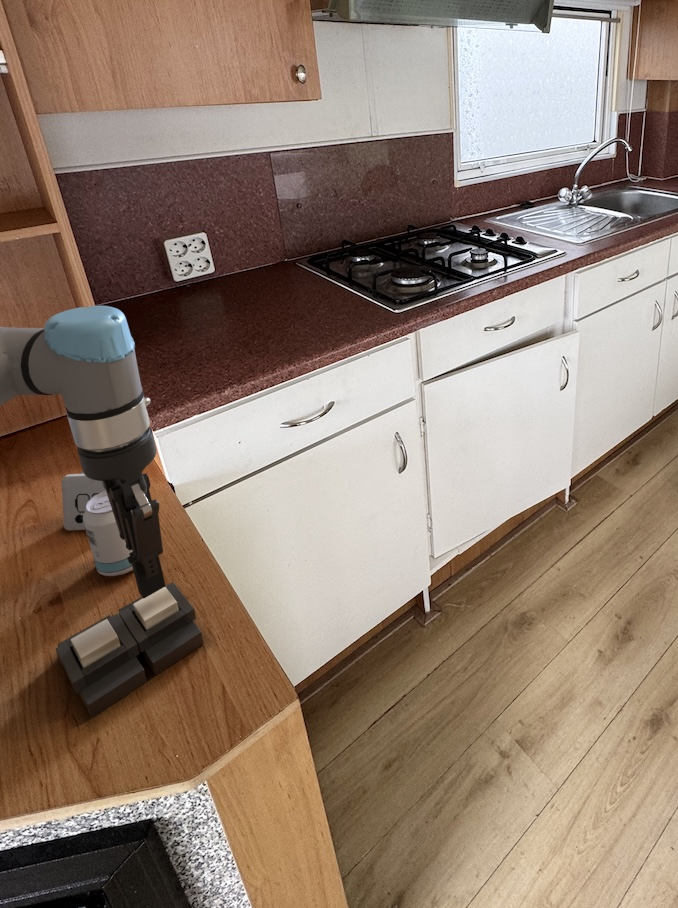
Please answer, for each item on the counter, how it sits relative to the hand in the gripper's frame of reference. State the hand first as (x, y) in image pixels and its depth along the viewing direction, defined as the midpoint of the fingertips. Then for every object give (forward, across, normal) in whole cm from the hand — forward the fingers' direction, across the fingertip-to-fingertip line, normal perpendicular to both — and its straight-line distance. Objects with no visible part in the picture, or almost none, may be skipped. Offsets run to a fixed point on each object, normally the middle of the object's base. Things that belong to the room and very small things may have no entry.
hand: (152, 589), depth 76 cm
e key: (+4, 0, 0) cm, 4 cm away
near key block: (+8, 0, +7) cm, 10 cm away
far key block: (+8, 0, 0) cm, 8 cm away
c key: (+4, 0, +7) cm, 8 cm away
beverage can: (+8, +17, -1) cm, 19 cm away
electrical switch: (+8, +31, -2) cm, 32 cm away
